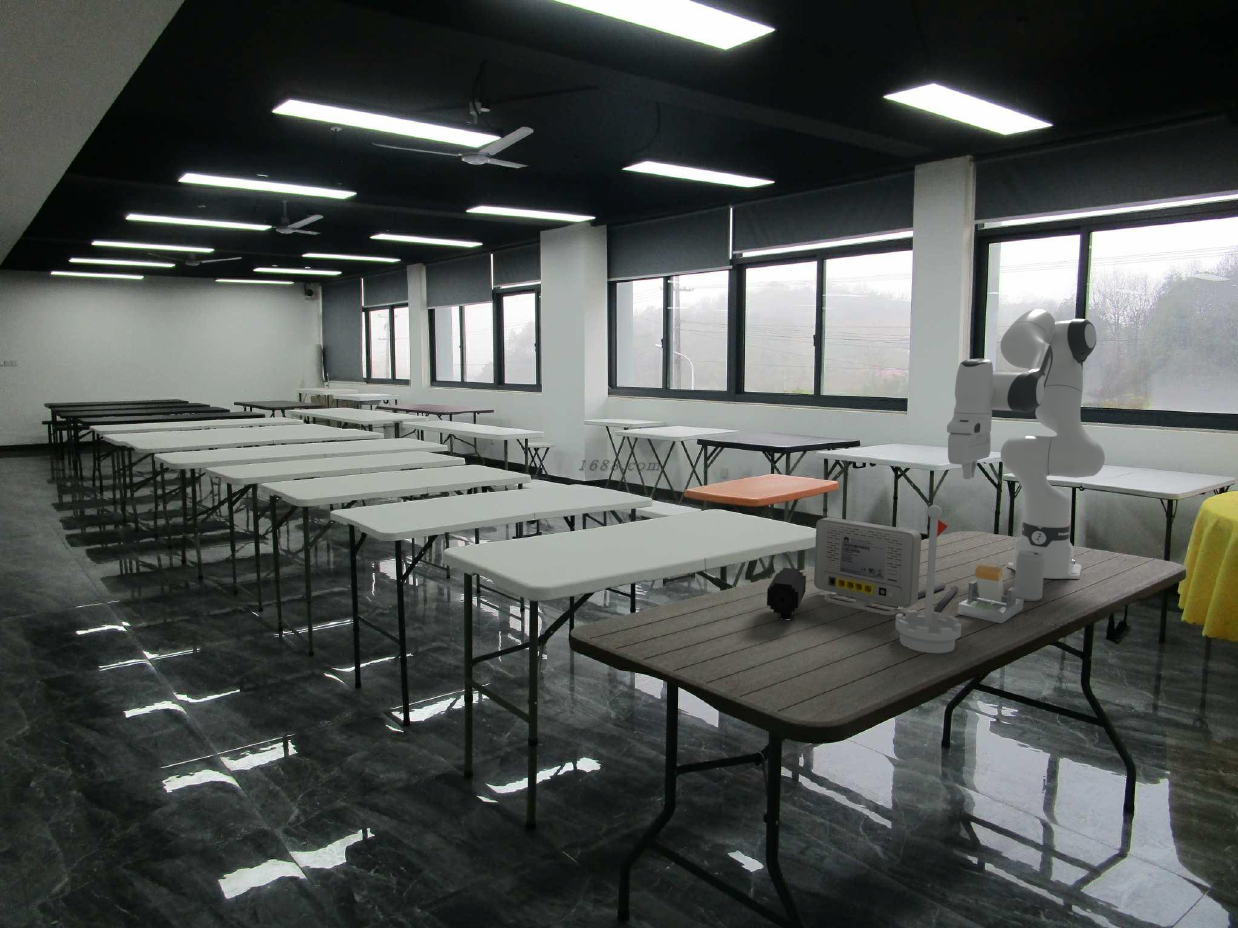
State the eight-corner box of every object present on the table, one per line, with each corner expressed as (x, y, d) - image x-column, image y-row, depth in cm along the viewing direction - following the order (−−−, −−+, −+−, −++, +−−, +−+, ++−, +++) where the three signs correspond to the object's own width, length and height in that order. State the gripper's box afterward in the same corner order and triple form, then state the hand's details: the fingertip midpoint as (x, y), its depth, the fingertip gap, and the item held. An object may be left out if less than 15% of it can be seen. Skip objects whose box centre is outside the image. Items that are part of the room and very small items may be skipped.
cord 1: (940, 587, 216) (940, 582, 216) (945, 588, 215) (945, 583, 215) (904, 601, 204) (904, 595, 204) (909, 602, 203) (909, 597, 203)
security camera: (806, 606, 199) (807, 566, 198) (796, 629, 182) (798, 586, 181) (777, 603, 202) (779, 563, 200) (765, 626, 184) (767, 583, 183)
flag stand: (936, 659, 165) (945, 513, 161) (882, 641, 175) (889, 503, 171) (972, 646, 172) (981, 506, 168) (918, 629, 183) (925, 497, 179)
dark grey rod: (952, 590, 214) (952, 585, 214) (958, 591, 213) (958, 586, 213) (933, 612, 195) (933, 606, 195) (939, 613, 194) (939, 607, 194)
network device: (921, 611, 196) (925, 529, 193) (905, 619, 190) (910, 535, 187) (825, 590, 213) (828, 515, 211) (807, 597, 207) (811, 519, 204)
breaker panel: (980, 600, 205) (982, 575, 204) (1022, 609, 198) (1024, 583, 198) (957, 613, 194) (959, 587, 193) (1001, 623, 187) (1003, 595, 187)
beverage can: (1045, 602, 204) (1048, 556, 202) (1017, 601, 205) (1020, 554, 203) (1037, 595, 210) (1041, 550, 208) (1010, 594, 211) (1013, 548, 210)
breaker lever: (978, 593, 199) (974, 563, 195) (1009, 599, 194) (1005, 569, 190) (974, 599, 198) (970, 569, 194) (1006, 605, 193) (1002, 575, 189)
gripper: (973, 420, 214) (970, 472, 216) (944, 426, 199) (941, 481, 201) (998, 422, 210) (995, 475, 212) (970, 427, 195) (967, 484, 197)
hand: (968, 478), depth 206 cm, fingers closed
